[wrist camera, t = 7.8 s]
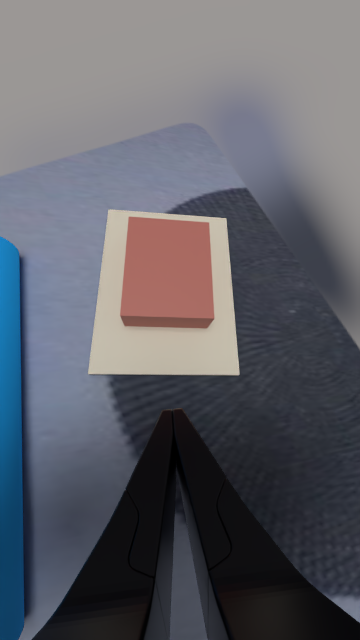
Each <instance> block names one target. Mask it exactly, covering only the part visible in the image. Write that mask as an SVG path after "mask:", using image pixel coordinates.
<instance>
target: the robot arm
mask: <svg viewBox="0 0 360 640" xmlns="http://www.w3.org/2000/svg"><path fill="white" fill-rule="evenodd" d="M176 464H177V472H178V478H179V484H180V489H181V495H182V500H183V506H184V511H185V517H186V522H187V528H188V533H189V539H190V544H191V550H192V555H193V561H194V566H195V572H196V577H197V583H198V588H199V594H200V599H201V605H202V610H203V616H204V621H205V627H206V632H207V638H208V640H360V623H359V622H358V621H356V620H355V619H354V618H353V617H351V616H350V615H349V614H347V613H346V612H345V611H344V610H342V609H341V608H340V607H339V606H337V605H336V604H335V603H334V602H332V601H331V600H330V599H328V598H327V597H326V596H325V595H323V594H322V593H321V592H320V591H318V590H317V589H316V588H315V587H314V586H313V585H311V584H310V583H309V582H308V581H307V580H306V579H305V578H304V577H303V576H302V575H301V574H300V572H299V571H298V570H297V569H296V568H295V567H294V566H293V564H292V563H291V562H290V561H289V560H288V558H287V557H286V556H285V555H284V553H283V552H282V551H281V550H280V548H279V547H278V546H277V545H276V543H275V542H274V541H273V540H272V538H271V537H270V536H269V535H268V533H267V532H266V531H265V530H264V528H263V527H262V526H261V525H260V523H259V522H258V521H257V520H256V518H255V517H254V516H253V514H252V513H251V512H250V511H249V509H248V508H247V507H246V505H245V504H244V503H243V501H242V500H241V498H240V497H239V495H238V494H237V492H236V491H235V489H234V488H233V486H232V485H231V483H230V482H229V480H228V479H226V476H225V474H224V472H223V471H222V469H221V468H220V466H219V465H218V463H217V461H216V460H215V458H214V457H213V455H212V454H211V452H210V451H209V449H208V447H207V446H206V444H205V443H204V441H203V440H202V438H201V436H200V435H199V433H198V432H197V430H196V429H195V427H194V426H193V424H192V422H191V421H190V419H189V418H188V416H187V415H186V413H185V411H184V410H183V409H182V408H177V409H173V412H172V410H171V409H167V410H162V412H161V414H160V416H159V418H158V420H157V422H156V424H155V427H154V429H153V431H152V433H151V435H150V437H149V439H148V441H147V444H146V446H145V448H144V450H143V452H142V454H141V456H140V459H139V461H138V463H137V465H136V467H135V469H134V471H133V473H132V476H131V478H130V480H129V482H128V484H127V486H126V490H125V491H124V492H123V495H122V497H121V499H120V501H119V503H118V505H117V507H116V509H115V511H114V513H113V515H112V517H111V519H110V521H109V523H108V524H107V526H106V528H105V530H104V531H103V533H102V535H101V537H100V539H99V540H98V542H97V544H96V545H95V547H94V549H93V550H92V552H91V554H90V556H89V557H88V559H87V561H86V562H85V564H84V566H83V567H82V569H81V571H80V572H79V574H78V576H77V577H76V579H75V581H74V583H73V584H72V586H71V588H70V589H69V591H68V593H67V594H66V596H65V597H64V599H63V601H62V602H61V604H60V605H59V607H58V608H57V610H56V611H55V612H54V614H53V615H52V616H51V618H50V619H49V620H48V622H47V623H46V624H45V625H44V626H43V628H42V629H41V630H40V631H39V632H38V633H37V634H36V635H35V636H34V638H33V639H32V640H169V637H170V613H171V589H172V565H173V541H174V517H175V493H176Z"/></svg>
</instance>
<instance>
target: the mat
mask: <svg viewBox="0 0 360 640" xmlns="http://www.w3.org/2000/svg"><path fill="white" fill-rule="evenodd" d="M129 217H143V218H156V219H169V220H183V221H196V222H209V228H210V246H211V264H212V283H213V301H214V320H213V321H212V323H211V324H210V325H209V327H208V328H173V327H137V326H124V324H123V321H122V319H121V317H120V309H121V298H122V287H123V275H124V264H125V253H126V241H127V230H128V219H129ZM88 374H90V375H234V376H238V375H239V363H238V351H237V339H236V328H235V316H234V304H233V293H232V281H231V269H230V257H229V246H228V234H227V222H226V218H214V217H201V216H188V215H175V214H162V213H149V212H136V211H123V210H110V209H109V211H108V219H107V227H106V235H105V243H104V251H103V259H102V267H101V275H100V283H99V291H98V299H97V307H96V315H95V323H94V331H93V339H92V346H91V354H90V362H89V370H88Z"/></svg>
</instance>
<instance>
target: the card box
mask: <svg viewBox="0 0 360 640" xmlns="http://www.w3.org/2000/svg"><path fill="white" fill-rule="evenodd" d="M120 317H121V319H122V321H123V324H124V326H137V327H173V328H208V327H209V325H210V324H211V323H212V321H213V320H214V301H213V283H212V264H211V246H210V228H209V222H196V221H183V220H169V219H156V218H143V217H129V219H128V230H127V241H126V253H125V264H124V275H123V287H122V298H121V309H120Z"/></svg>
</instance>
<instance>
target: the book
mask: <svg viewBox="0 0 360 640" xmlns="http://www.w3.org/2000/svg"><path fill="white" fill-rule="evenodd" d="M23 627H24V557H23V483H22V409H21V335H20V261H19V252H18V250H17V248H16V247H15V246H14V245H13V244H12V243H10V242H9V241H8V240H6V239H4V238H2V237H0V640H18V639H19V637H20V635H21V632H22V630H23Z"/></svg>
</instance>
